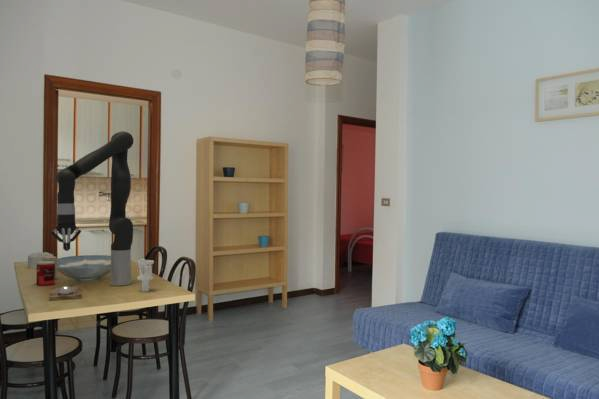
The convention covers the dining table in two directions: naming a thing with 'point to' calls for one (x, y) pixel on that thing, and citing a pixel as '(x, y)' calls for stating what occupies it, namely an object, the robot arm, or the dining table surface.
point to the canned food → (45, 273)
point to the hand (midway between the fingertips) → (66, 250)
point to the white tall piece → (145, 273)
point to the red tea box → (51, 258)
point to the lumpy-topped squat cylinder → (36, 259)
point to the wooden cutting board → (56, 296)
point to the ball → (65, 290)
